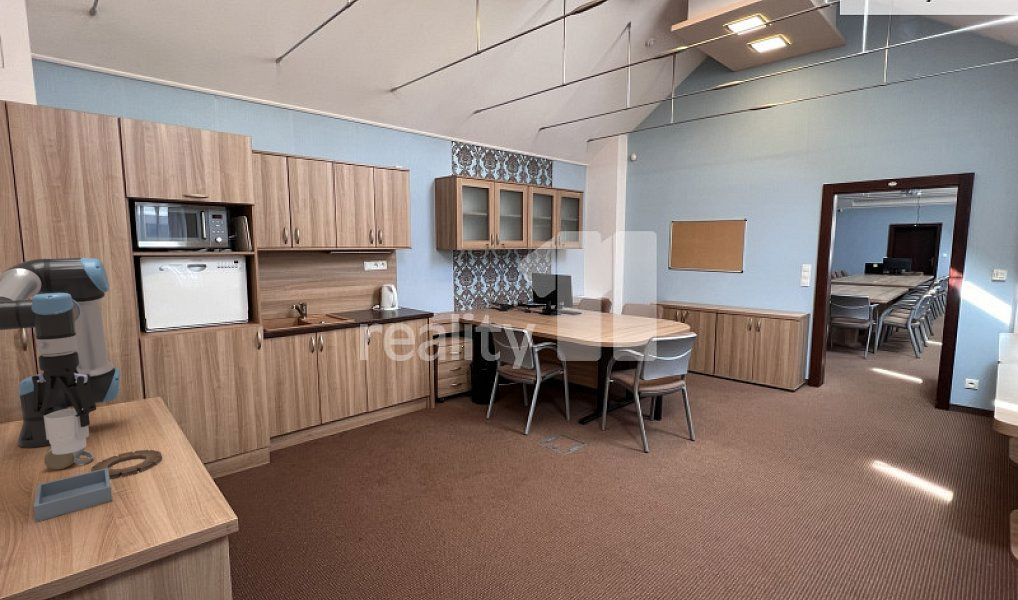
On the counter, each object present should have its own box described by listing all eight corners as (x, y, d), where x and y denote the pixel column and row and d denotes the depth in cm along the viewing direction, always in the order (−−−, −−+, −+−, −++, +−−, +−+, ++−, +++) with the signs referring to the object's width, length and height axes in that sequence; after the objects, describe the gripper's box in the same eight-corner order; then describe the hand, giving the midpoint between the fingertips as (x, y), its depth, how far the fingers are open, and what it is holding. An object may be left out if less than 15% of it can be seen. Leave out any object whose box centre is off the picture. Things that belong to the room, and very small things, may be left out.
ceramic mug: (43, 473, 143) (41, 448, 143) (54, 462, 151) (52, 438, 150) (88, 466, 148) (86, 443, 147) (97, 456, 155) (95, 433, 154)
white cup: (41, 453, 124) (37, 416, 123) (76, 441, 132) (72, 406, 130) (61, 457, 122) (57, 419, 121) (96, 445, 129) (92, 409, 128)
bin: (39, 498, 129) (37, 484, 129) (109, 480, 139) (108, 467, 138) (35, 522, 118) (33, 506, 118) (112, 500, 128) (110, 486, 127)
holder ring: (90, 464, 149) (90, 460, 149) (158, 448, 160) (157, 445, 160) (92, 485, 136) (91, 481, 136) (164, 466, 148) (164, 462, 148)
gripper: (5, 356, 121) (16, 443, 123) (82, 356, 119) (92, 444, 122) (35, 349, 128) (45, 431, 131) (109, 350, 127) (117, 433, 129)
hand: (68, 437), depth 126 cm, fingers closed on white cup, 8 cm apart
